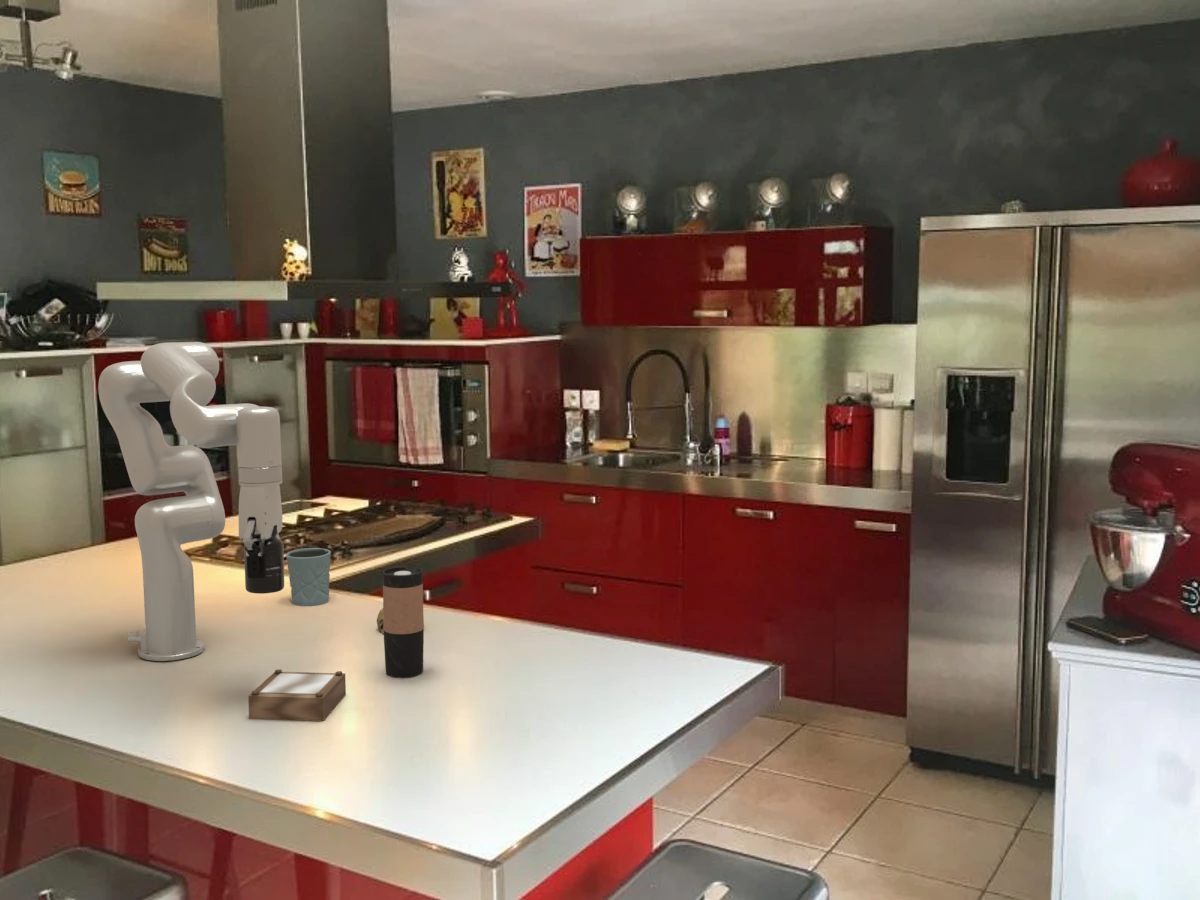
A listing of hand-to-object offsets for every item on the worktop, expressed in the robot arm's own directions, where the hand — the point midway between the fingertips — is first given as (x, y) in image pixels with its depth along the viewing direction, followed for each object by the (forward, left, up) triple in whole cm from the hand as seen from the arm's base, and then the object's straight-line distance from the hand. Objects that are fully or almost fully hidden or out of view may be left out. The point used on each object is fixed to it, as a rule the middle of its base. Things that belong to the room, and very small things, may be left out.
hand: (264, 572), depth 206 cm
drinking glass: (-13, +61, -22) cm, 67 cm away
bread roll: (+14, +41, -23) cm, 49 cm away
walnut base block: (+8, -8, -22) cm, 25 cm away
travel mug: (+22, +12, -22) cm, 34 cm away
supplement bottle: (0, 0, -4) cm, 4 cm away
